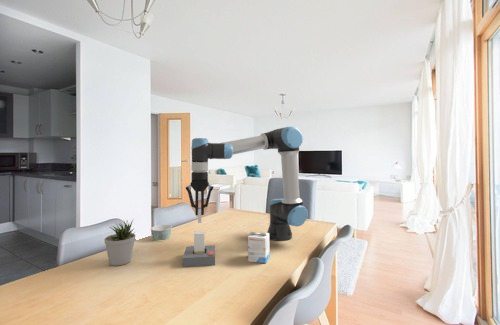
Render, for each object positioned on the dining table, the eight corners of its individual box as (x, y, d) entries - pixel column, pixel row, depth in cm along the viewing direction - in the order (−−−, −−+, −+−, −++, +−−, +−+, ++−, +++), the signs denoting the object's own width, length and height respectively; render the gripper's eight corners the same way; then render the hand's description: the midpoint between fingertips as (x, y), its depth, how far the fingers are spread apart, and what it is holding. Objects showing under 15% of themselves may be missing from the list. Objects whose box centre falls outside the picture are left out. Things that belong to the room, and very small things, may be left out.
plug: (204, 255, 118) (204, 230, 118) (204, 259, 114) (204, 233, 114) (194, 256, 118) (194, 231, 118) (194, 260, 113) (194, 234, 113)
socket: (214, 253, 124) (214, 244, 124) (215, 265, 110) (215, 254, 110) (186, 254, 122) (186, 245, 122) (182, 267, 108) (182, 256, 108)
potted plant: (103, 271, 104) (103, 224, 104) (105, 259, 116) (105, 217, 116) (136, 265, 110) (136, 220, 110) (134, 254, 122) (134, 214, 122)
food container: (155, 243, 139) (154, 231, 139) (147, 238, 148) (147, 227, 148) (175, 238, 147) (175, 227, 147) (167, 234, 156) (167, 223, 156)
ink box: (270, 256, 120) (270, 229, 120) (265, 263, 112) (265, 234, 112) (253, 254, 123) (253, 227, 122) (247, 261, 115) (247, 232, 114)
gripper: (213, 171, 120) (213, 219, 121) (186, 171, 118) (186, 220, 119) (213, 171, 113) (213, 223, 113) (184, 172, 111) (184, 224, 111)
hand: (199, 222), depth 116 cm, fingers closed
